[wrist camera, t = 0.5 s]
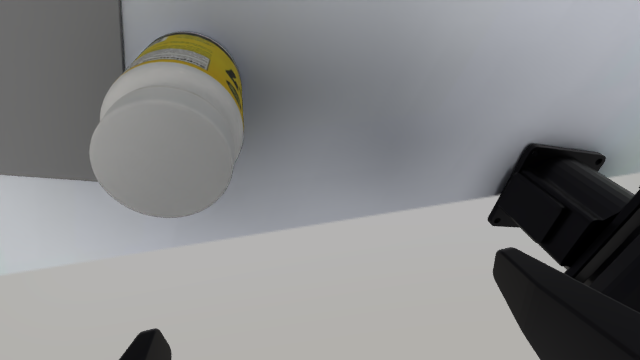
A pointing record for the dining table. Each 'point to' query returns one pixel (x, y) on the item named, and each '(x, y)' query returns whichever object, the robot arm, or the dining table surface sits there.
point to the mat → (55, 83)
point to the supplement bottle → (171, 128)
